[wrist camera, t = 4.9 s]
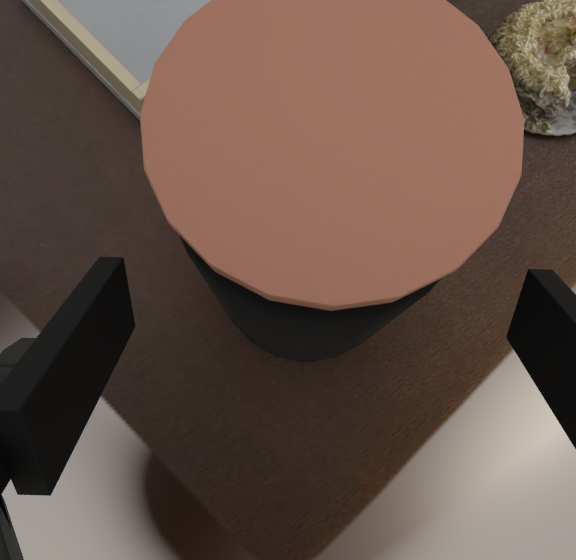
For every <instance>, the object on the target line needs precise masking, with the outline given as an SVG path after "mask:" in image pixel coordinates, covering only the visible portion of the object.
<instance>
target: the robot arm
mask: <svg viewBox="0 0 576 560" xmlns="http://www.w3.org/2000/svg"><path fill="white" fill-rule="evenodd" d="M134 328H135V321H134V316H133V310H132V304H131V299H130V293H129V287H128V281H127V276H126V270H125V264H124V259H123V257H99V258H98V260H97V261H96V262H95V263H94V265H93V266H92V267H91V269H90V270H89V271H88V272H87V274H86V275H85V276H84V278H83V279H82V280H81V281H80V283H79V284H78V285H77V287H76V288H75V289H74V290H73V292H72V293H71V294H70V296H69V297H68V298H67V299H66V301H65V302H64V303H63V305H62V306H61V307H60V308H59V310H58V311H57V312H56V314H55V315H54V316H53V317H52V319H51V320H50V321H49V323H48V324H47V325H46V326H45V328H44V329H43V330H42V332H41V333H40V334H39V335H38V337H37V338H21V339H19V340H18V341H16V342H15V343H13V344H12V345H10V346H9V347H7V348H6V349H4V350H3V351H2V353H1V354H0V560H24V559H23V556H22V553H21V550H20V547H19V544H18V541H17V538H16V535H15V531H14V529H13V526H12V522H11V520H10V516H9V513H8V510H7V507H6V504H5V501H4V499H3V497H2V495H1V494H2V492H3V491H4V489H5V487H6V486H7V484H8V482H9V481H10V479H11V480H12V482H13V485H14V487H15V489H16V492H17V494H19V495H51V493H52V491H53V489H54V487H55V485H56V483H57V481H58V480H59V478H60V475H61V474H62V472H63V470H64V467H65V466H66V463H67V461H68V460H69V458H70V455H71V454H72V452H73V450H74V447H75V446H76V444H77V441H78V440H79V438H80V436H81V434H82V432H83V430H84V428H85V426H86V424H87V422H88V420H89V418H90V416H91V414H92V412H93V410H94V408H95V406H96V404H97V402H98V400H99V398H100V396H101V394H102V392H103V390H104V388H105V386H106V384H107V382H108V380H109V378H110V376H111V374H112V372H113V370H114V368H115V366H116V364H117V362H118V360H119V358H120V356H121V354H122V352H123V350H124V348H125V346H126V344H127V342H128V340H129V338H130V336H131V334H132V332H133V330H134ZM506 338H507V339H508V341H509V342H510V344H511V346H512V347H513V349H514V350H515V352H516V354H517V355H518V357H519V358H520V360H521V362H522V363H523V365H524V366H525V368H526V370H527V371H528V373H529V375H530V376H531V378H532V379H533V381H534V383H535V384H536V386H537V387H538V389H539V391H540V392H541V394H542V395H543V397H544V399H545V400H546V402H547V403H548V405H549V407H550V408H551V410H552V412H553V413H554V415H555V416H556V418H557V420H558V421H559V423H560V424H561V426H562V428H563V429H564V431H565V432H566V434H567V436H568V437H569V439H570V441H571V442H572V444H573V445H574V447H575V449H576V294H575V293H573V291H572V290H571V289H570V288H569V287H568V286H567V285H566V284H565V283H564V282H563V281H562V280H561V279H560V278H559V277H558V276H557V274H556V273H555V272H554V271H553V270H540V269H528V272H527V275H526V278H525V281H524V284H523V287H522V290H521V293H520V297H519V300H518V303H517V306H516V309H515V312H514V315H513V318H512V321H511V324H510V327H509V330H508V333H507V337H506Z"/></svg>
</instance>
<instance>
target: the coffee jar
mask: <svg viewBox="0 0 576 560" xmlns="http://www.w3.org/2000/svg"><path fill="white" fill-rule="evenodd" d="M140 123H141V136H142V150H143V163H144V172H145V174H146V176H147V178H148V180H149V183H150V185H151V187H152V189H153V191H154V194H155V196H156V198H157V200H158V202H159V205H160V207H161V209H162V211H163V213H164V215H165V218H166V220H167V222H168V224H169V225H170V226H171V227H172V228H173V229H174V230H175V231H176V232H177V233H178V234H179V236H180V238H181V240H182V242H183V245H184V247H185V249H186V251H187V253H188V255H189V256H190V258H191V259H192V261H193V262H194V264H195V265H196V267H197V268H198V270H199V271H200V273H201V274H202V276H203V277H204V279H205V280H206V282H207V283H208V285H209V286H210V288H211V289H212V291H213V292H214V294H215V295H216V297H217V298H218V300H219V301H220V303H221V304H222V306H223V307H224V309H225V310H226V312H227V313H228V315H229V316H230V318H231V319H232V321H233V322H234V324H235V325H236V326H237V327H238V328H239V329H240V330H241V331H242V332H243V333H244V334H245V335H246V336H247V337H248V338H249V340H250V341H251V342H252V343H253V344H255V345H257V346H259V347H261V348H263V349H265V350H266V351H268V352H270V353H272V354H274V355H276V356H278V357H282V358H288V359H294V360H300V361H305V362H307V361H313V360H320V359H327V358H334V357H336V356H338V355H340V354H342V353H344V352H346V351H348V350H350V349H352V348H354V347H356V346H358V345H359V344H361V343H362V342H363V341H365V340H366V339H367V338H369V337H370V336H371V335H373V334H374V333H375V332H377V331H378V330H379V329H381V328H382V327H383V326H385V325H386V324H387V323H389V322H390V321H391V320H393V319H394V318H395V317H397V316H398V315H399V314H401V313H402V312H403V311H405V310H406V309H407V308H409V307H410V306H411V305H413V304H414V303H415V302H417V301H418V300H419V299H421V298H422V297H423V296H425V295H426V294H427V293H428V292H429V291H430V290H431V289H432V288H433V287H434V286H435V285H436V284H437V283H438V282H439V281H440V280H441V279H442V278H443V277H445V276H447V275H449V274H451V273H453V272H455V271H457V270H458V268H459V267H460V266H461V265H462V264H463V263H464V262H465V261H466V260H467V259H468V258H469V257H470V256H471V255H472V254H473V253H474V252H475V251H476V250H477V249H478V248H479V247H480V246H481V245H482V244H483V243H484V242H485V241H486V240H487V239H488V238H489V237H490V236H491V235H492V234H493V233H494V232H495V231H496V230H497V229H498V227H499V225H500V222H501V220H502V218H503V215H504V213H505V211H506V209H507V206H508V204H509V202H510V200H511V197H512V195H513V193H514V191H515V188H516V186H517V184H518V182H519V179H520V177H521V172H522V154H523V136H524V117H523V114H522V111H521V107H520V104H519V101H518V97H517V94H516V91H515V87H514V84H513V81H512V77H511V74H510V71H509V68H508V67H507V66H506V64H505V63H504V61H503V60H502V58H501V57H500V56H499V54H498V53H497V51H496V50H495V49H494V47H493V46H492V44H491V43H490V41H489V40H488V39H487V37H486V36H485V34H484V33H483V32H482V30H481V29H480V27H479V26H478V25H477V24H476V23H475V22H473V21H472V20H471V19H469V18H468V17H467V16H466V15H464V14H463V13H462V12H461V11H459V10H458V9H457V8H455V7H454V6H453V5H452V4H450V3H449V2H448V1H447V0H211V1H210V2H208V3H207V4H206V5H204V6H203V7H202V8H200V9H199V10H198V11H196V12H195V13H194V14H193V15H191V16H190V17H189V18H187V19H186V20H185V21H184V22H183V24H182V25H181V26H180V28H179V29H178V31H177V32H176V34H175V35H174V36H173V38H172V39H171V41H170V42H169V44H168V45H167V46H166V48H165V49H164V51H163V52H162V54H161V55H160V56H159V58H158V59H157V61H156V62H155V64H154V67H153V71H152V74H151V78H150V81H149V85H148V88H147V92H146V95H145V99H144V102H143V106H142V109H141V113H140Z"/></svg>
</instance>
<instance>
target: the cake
mask: <svg viewBox="0 0 576 560" xmlns="http://www.w3.org/2000/svg"><path fill="white" fill-rule="evenodd" d="M489 41H490V43H491V44H492V46H493V47H494V49H495V50H496V51H497V53H498V54H499V56H500V57H501V58H502V60H503V61H504V63H505V64H506V66H507V67H508V68H509V71H510V74H511V77H512V81H513V84H514V87H515V91H516V94H517V97H518V101H519V104H520V107H521V111H522V114H523V117H524V129H525V130H526V131H528V132H531V133H532V132H533V133H539V134H541V135H554V136H561V135H571V134H574V133H576V0H539V2H536V3H528V4H525V5H522V6H521V7H520V9H519V10H517V11H516V12H512V13H511V14H510V15H509V16H507V17H506V18H505V21H504V23H502V24H500V27H498V29H497V30H496V32H495V33H494V34H493V35H492V36H491V38H490V39H489Z"/></svg>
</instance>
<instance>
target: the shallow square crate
mask: <svg viewBox="0 0 576 560" xmlns="http://www.w3.org/2000/svg"><path fill="white" fill-rule="evenodd" d="M210 1H211V0H22V2H23V3H24V4H25V5H26V6H27V7H28V8H29V9H30V10H31V11H32V12H33V13H34V14H35V15H36V16H37V17H38V18H39V19H40V20H41V21H42V22H43V23H44V24H45V25H46V26H47V27H48V28H49V29H50V30H51V31H52V32H53V33H54V34H55V35H56V36H57V37H58V38H59V39H60V40H61V41H62V42H63V43H64V44H65V45H66V46H67V47H68V48H69V49H70V50H71V51H72V52H73V53H74V54H75V55H76V56H77V57H78V59H79V60H80V61H81V62H82V63H83V64H84V65H85V66H86V67H87V68H88V69H89V70H90V71H91V72H92V73H93V74H94V75H95V76H96V77H97V78H98V79H99V80H100V81H101V82H102V83H103V84H104V85H105V86H106V87H107V88H108V89H109V90H110V91H111V92H112V93H113V94H114V95H115V96H116V97H117V98H118V99H119V100H120V101H121V102H122V103H123V104H124V105H125V106H126V107H127V108H128V109H129V110H130V111H131V112H132V113H133V114H134V115H135V116H136V117H137V118H138V120H139V121H140V113H141V109H142V106H143V102H144V99H145V95H146V92H147V88H148V85H149V81H150V78H151V74H152V71H153V67H154V64H155V62H156V61H157V59H158V58H159V56H160V55H161V54H162V52H163V51H164V49H165V48H166V46H167V45H168V44H169V42H170V41H171V39H172V38H173V36H174V35H175V34H176V32H177V31H178V29H179V28H180V26H181V25H182V24H183V22H184V21H185V20H186V19H187V18H189V17H190V16H191V15H193V14H194V13H195V12H196V11H198V10H199V9H200V8H202V7H203V6H204V5H206V4H207V3H208V2H210Z"/></svg>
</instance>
